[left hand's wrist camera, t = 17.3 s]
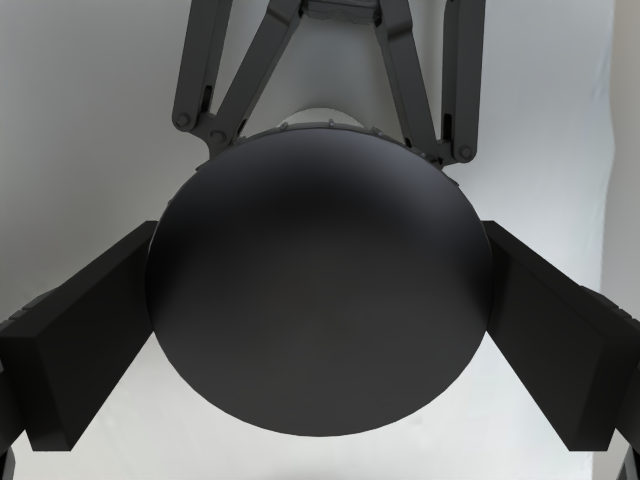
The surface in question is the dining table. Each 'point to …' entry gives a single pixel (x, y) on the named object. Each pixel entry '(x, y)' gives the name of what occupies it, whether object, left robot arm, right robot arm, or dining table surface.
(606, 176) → the dining table surface
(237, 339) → the lid
